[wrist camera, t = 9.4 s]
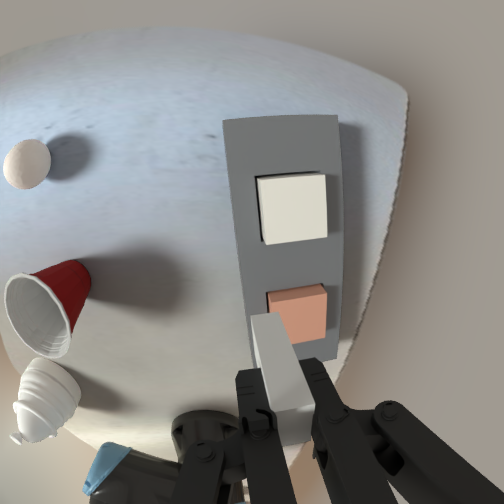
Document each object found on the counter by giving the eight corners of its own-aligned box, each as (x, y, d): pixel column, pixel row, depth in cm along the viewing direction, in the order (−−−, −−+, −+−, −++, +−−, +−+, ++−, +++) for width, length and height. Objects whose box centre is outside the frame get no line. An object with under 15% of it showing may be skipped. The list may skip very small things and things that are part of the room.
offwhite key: (315, 227, 31) (327, 237, 28) (260, 233, 31) (266, 244, 27) (312, 172, 29) (324, 174, 25) (255, 177, 29) (260, 180, 25)
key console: (325, 338, 41) (336, 358, 36) (251, 352, 40) (254, 374, 36) (321, 120, 30) (337, 115, 25) (222, 125, 29) (222, 120, 24)
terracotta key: (315, 320, 36) (325, 337, 32) (269, 328, 35) (274, 347, 32) (316, 278, 34) (327, 293, 30) (265, 286, 33) (271, 302, 29)
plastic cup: (81, 227, 31) (31, 260, 20) (119, 295, 35) (88, 347, 24) (35, 259, 31) (-11, 294, 20) (71, 317, 35) (37, 365, 24)
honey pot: (37, 388, 40) (8, 444, 23) (25, 348, 37) (-16, 409, 20) (84, 409, 43) (62, 473, 26) (77, 371, 39) (44, 445, 22)
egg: (43, 194, 29) (9, 205, 21) (22, 164, 27) (-13, 170, 19) (67, 159, 28) (33, 163, 20) (45, 130, 26) (10, 128, 18)
